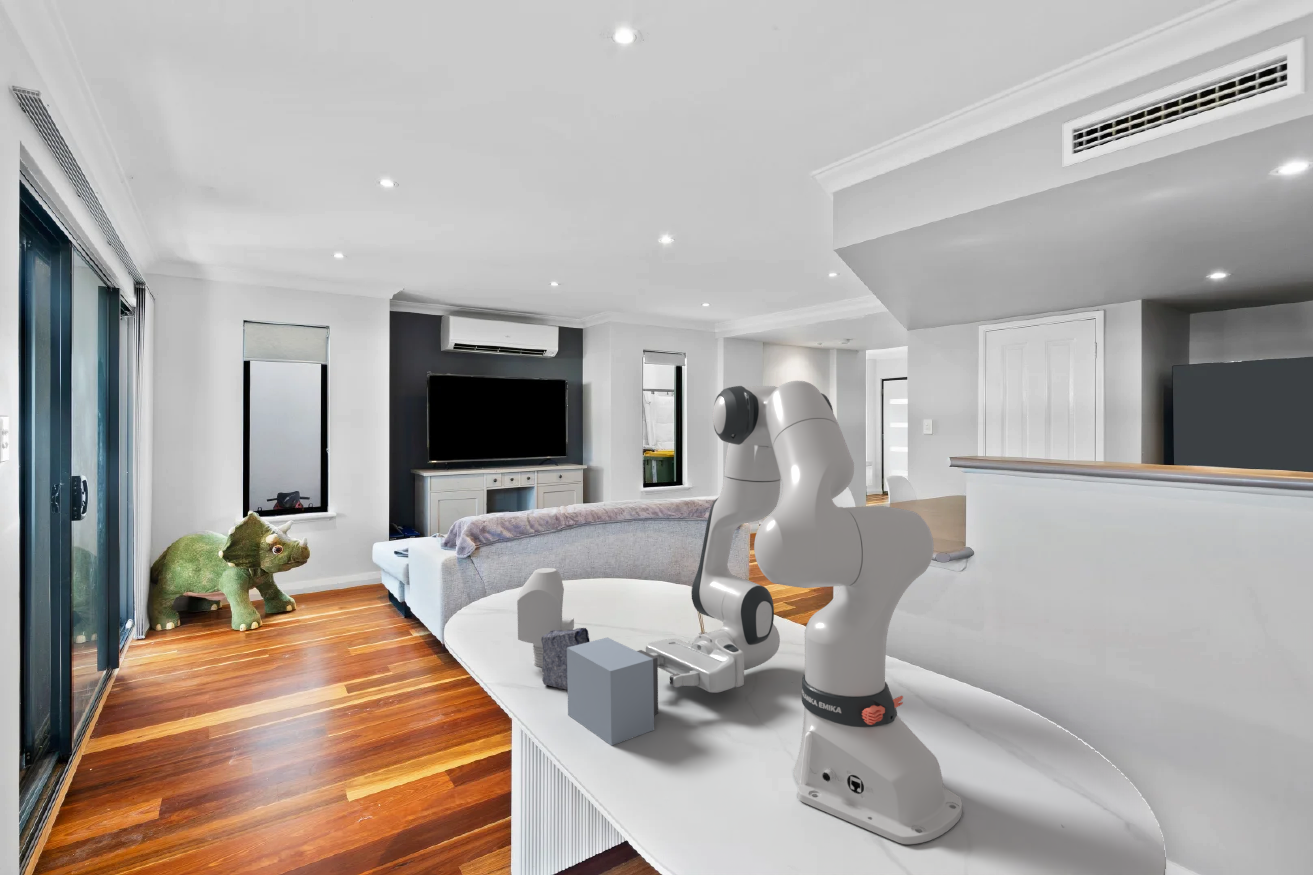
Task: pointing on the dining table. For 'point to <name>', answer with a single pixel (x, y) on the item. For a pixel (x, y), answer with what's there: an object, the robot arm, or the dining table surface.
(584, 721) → the socket
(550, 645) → the stone
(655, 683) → the plug
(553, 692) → the dining table surface
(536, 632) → the light fixture
